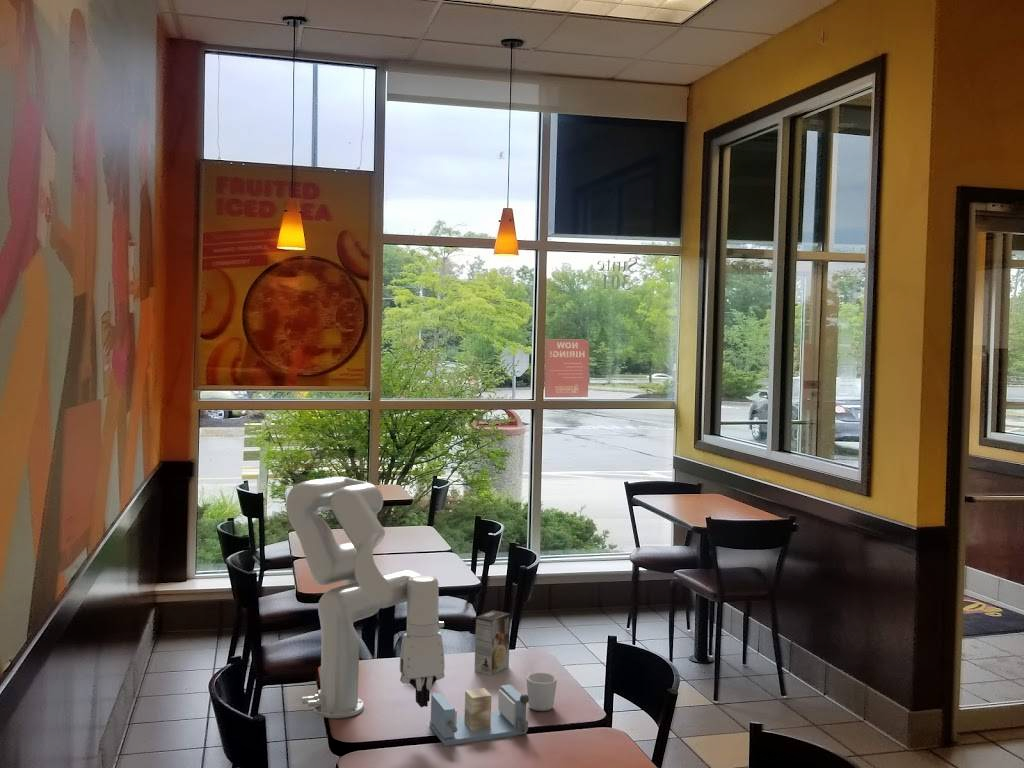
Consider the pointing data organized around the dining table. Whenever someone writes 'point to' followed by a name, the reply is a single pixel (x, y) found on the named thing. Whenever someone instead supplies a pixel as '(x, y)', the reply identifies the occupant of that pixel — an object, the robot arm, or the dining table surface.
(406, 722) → the dining table surface
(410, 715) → the dining table surface
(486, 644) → the coffee box
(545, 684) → the cup
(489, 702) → the maple block
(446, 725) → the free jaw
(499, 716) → the vise bed
